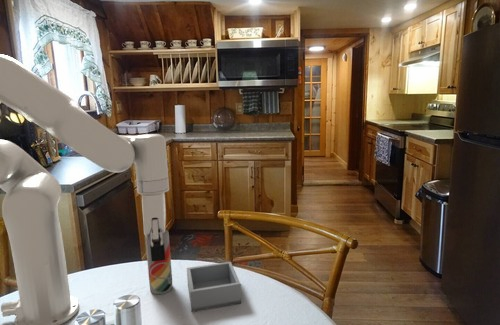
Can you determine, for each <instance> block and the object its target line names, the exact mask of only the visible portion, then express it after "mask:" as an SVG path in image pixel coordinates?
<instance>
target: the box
mask: <svg viewBox="0 0 500 325" xmlns="http://www.w3.org/2000/svg"><path fill="white" fill-rule="evenodd" d="M233 265H234V264H232V261H226V262H219V263H211V264H205V265H197V266H191V267H186V274H187V276H186V277H187V278H186V279H187V290H188V296H189V304H190V310H191V313H194V312H195V313H196V312H200V311H205V310H211V309H216V308H217V309H218V308H222V307H228V306H232V305H240V304H242V294H241V293H242V292H241V287H242V286H241V282H240V280H239V277H238V274H237V272H236V270H235V269H234V266H233Z"/></svg>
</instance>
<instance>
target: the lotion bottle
mask: <svg viewBox="0 0 500 325" xmlns="http://www.w3.org/2000/svg"><path fill="white" fill-rule="evenodd" d="M158 232H160V230H158ZM152 233H153V231H152ZM162 236H163V244H164V249H165V260H161V261H152V259H151V248H150V245H151V236H150V233H149V234H147V235H145V237H144V238H145V247H146V249H145V250H146V258H147V260H146V261H147V262H146V263H147V274H148V283H149V290H150V292H151V293H152V294H154V295H162V294H166V293H169V292H170V291H171V290H172V289H173V273H172V261H171V260H172V259H171V258H172V257H171V246H170V243H171V242H170V234H169V231H168V230H167V229H165V232H164V233H163V234H162ZM159 237H160V235H159ZM160 242H161V241H160Z"/></svg>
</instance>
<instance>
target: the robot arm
mask: <svg viewBox="0 0 500 325" xmlns="http://www.w3.org/2000/svg"><path fill="white" fill-rule="evenodd" d="M0 103H2V104H4V105H6V107H8V108H10V109H12V110H14V111H15V112H16V113H18V114H20V115H21V116H23V117H24V118H26V119H27V120H29V121H31V122H32V123H33V124H36V125H37V126H38V127H40V128H42V129H43V130H44V131H46V132H47V133H48V134H50V135H51V137H54V138H55V139H57V140H58V141H61V142H62V143H63V144H64V145H65V146H67V147H69V148H70V149H71V150H73V151H74V152H76V153H77V154H79V155H80V156H82V157H83V158H85V159H87V160H89V161H90V162H92V163H93V164H95V165H97V166H98V167H99V168H102V169H103V170H105V171H108V172H110V173H122V172H126V171H127V170H128V169H130V168H131V167H132V166H133V164H134V169H135V181H136V192H137V194H139V195H141V207H142V209H141V210H142V220H143V224H142V225H143V234H144V235H147V234H149V233H150V236H151V245H150V248H151V259H152V261H161V260H165V249H164V244H163V236H162V234H163V233H164V232H165V230H166V219H167V218H166V216H167V215H166V194H165V193H167V192H169V191H170V182H169V181H170V180H169V169H168V168H169V167H168V155H167V152H168V150H167V141H166V138H165V136H164V135H162V134H159V133H148V134H140V135H121V134H120V135H119V134H117V133H115V132H114V131H113V130H111V129H109V128H108V127H107V126H105V125H104V124H102V123H101V122H100V121H99V120H96V119H95V118H94V117H93V116H91V115H90V114H88V113H87V111H85V110H84V109H83V108H82V107H81V106H80V105H79V104H78V103H77V102H76V101H75V100H74V99H73V98H71V97H70V96H69V95H67V94H66V93H64V92H63V91H61V90H60V89H58V88H57V87H55V86H54V85H52V84H51V83H50V82H49V81H47V80H45V79H44V78H42V77H41V76H39V75H38V74H36V73H35V72H34V71H33V70H31V69H30V68H28V67H27V66H26V65H25V64H24V63H22V62H20V61H18V60H17V59H15V58H13V57H11V56H9V55H5V54H1V53H0ZM0 189H1V190H2V191H3V192H5V195H4V198H3V200H2V205H1V214H2V218H3V223H4V225H5V228H6V231H7V236H8V239H9V244H10V250H11V255H12V261H13V265H14V266H13V267H14V272H15V277H16V285H17V291H18V296H19V299H18V300H17V301H8V302H2V303H1V305H0V311H1V313H2V314H1V315H2V317H10V316H15V317H14V325H62V324H65V323H66V322H68V321H69V320H70V319H72V318H73V317H74V316H75V315H76V314H77V313H78V311H79V309H80V302H79V299H78V298H77V297H75V296H72V295H71V293H70V292H71V291H70V285H69V284H70V283H69V278H68V277H69V276H68V269H67V262H66V254H65V247H64V240H63V234H62V233H63V232H62V229H61V228H62V227H61V224H60V218H59V212H58V205H59V202H60V200H61V197H62V186H61V184H60V182H59V181H58V180H57V179H56V177H55V176H54V175H53V174H52V173H51V172H49V171H48V170H47V169H46V168H45V167H43V165H41V164H40V163H39V162H38V161H37V160H35V159H34V157H32V156H31V155H30V154H29V153H27V151H25V150H24V149H23V148H21V147H20V146H19V145H17V144H16V143H14V142H12V141H10V140H5V139H0ZM158 230H160V232H158ZM152 231H153V233H152ZM159 235H160V237H159ZM160 241H161V242H160Z"/></svg>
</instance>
